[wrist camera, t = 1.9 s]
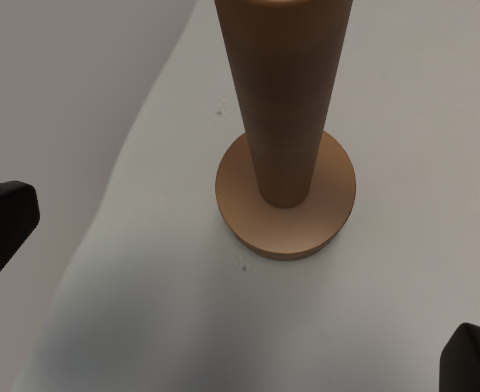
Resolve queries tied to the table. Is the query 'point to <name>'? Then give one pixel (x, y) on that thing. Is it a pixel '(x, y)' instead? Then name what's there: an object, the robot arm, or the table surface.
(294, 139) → the wooden knob stand
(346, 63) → the table surface
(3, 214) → the robot arm
